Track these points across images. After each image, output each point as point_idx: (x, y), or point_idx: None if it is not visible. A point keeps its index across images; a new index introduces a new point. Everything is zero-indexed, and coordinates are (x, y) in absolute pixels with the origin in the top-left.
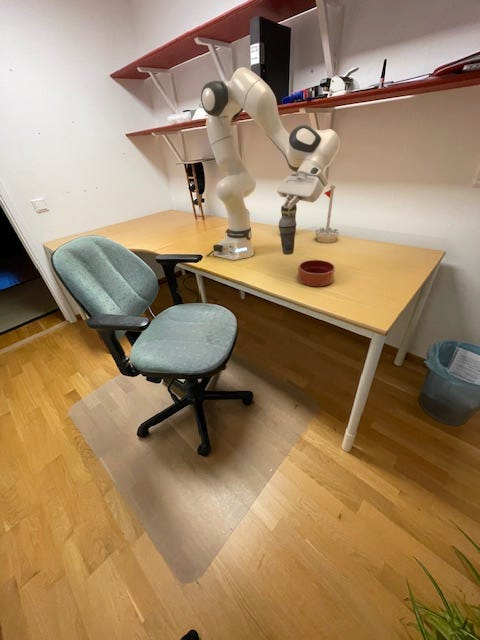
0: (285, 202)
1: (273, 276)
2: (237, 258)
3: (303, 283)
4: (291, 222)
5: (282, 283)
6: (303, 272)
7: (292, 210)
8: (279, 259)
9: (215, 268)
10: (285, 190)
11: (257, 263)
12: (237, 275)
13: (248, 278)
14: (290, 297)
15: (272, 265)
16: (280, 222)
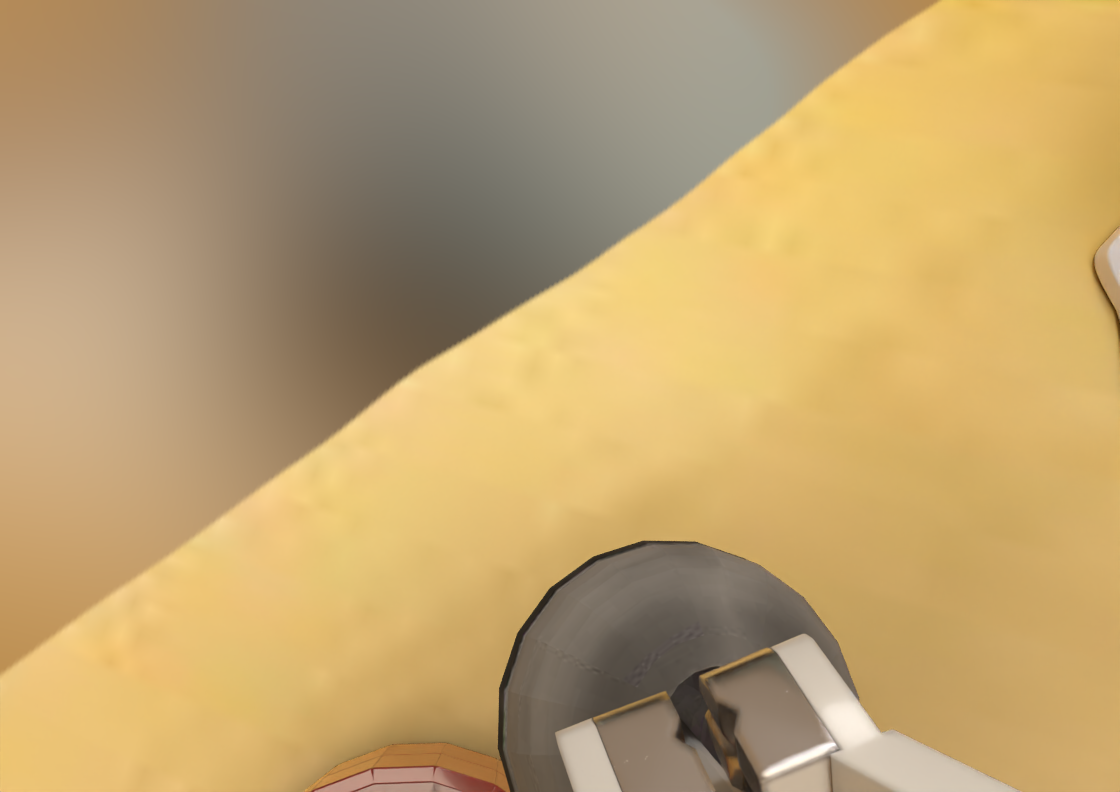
0: (825, 719)
1: (614, 535)
2: (1111, 282)
3: (344, 762)
4: (523, 764)
5: (444, 574)
6: (333, 780)
7: None
8: (1022, 725)
9: (936, 65)
10: None
11: (964, 462)
12: (731, 223)
13: (640, 303)
14: (169, 559)
15: (876, 600)
16: (645, 556)
